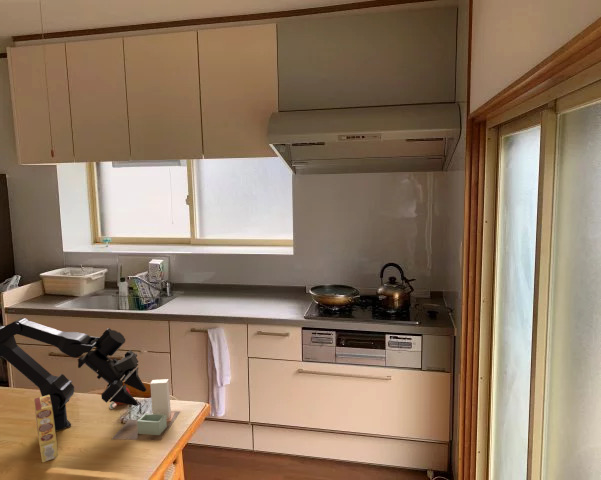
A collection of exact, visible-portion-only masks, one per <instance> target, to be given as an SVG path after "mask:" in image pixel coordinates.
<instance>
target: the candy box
mask: <svg viewBox="0 0 601 480" xmlns="http://www.w3.org/2000/svg"><path fill="white" fill-rule="evenodd" d="M33 400H34V410H35V423H36V429H37V437H38V443H39V445H38V446H39V452H40V456H41V457H40V458H41V462H42V463H45V462H48V461H51V460H55V459H56V458H58V457H59V454H58V442H57V435H56V432H55V424H54V416H53V408H52V403H51V398H50V395H47V396H43V397H42V396H38V397H35V398H34V399H33Z"/></svg>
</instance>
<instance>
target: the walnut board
mask: <svg viewBox="0 0 601 480" xmlns="http://www.w3.org/2000/svg"><path fill="white" fill-rule="evenodd" d="M180 413H181V411H177V410H176V411H174V410H173V411H172V410H171V416H170V418H169V419H166V422H167V427H166V429H165V430H164V431H163V432H162V433H161V434H160V435H150V434H138V428H137V421H138V420H139V419H138V420H131V419H130V418H129V419H127V421H126V422H125V423H124V424H123V425H122V426H121V427H120V429H119V430H118V431H117V432H116V434H114V435H113V436H112V438H111V440H125V441H126V440H128V441H129V440H132V441H138V440H139V441H161V440H162V439H163V438H164V436H165V434H166V433H167V432H168V430H169V429H170V428H171V426H172V425H173V423H174V422H175V420H176V419H177V418H178V416H179V415H180Z"/></svg>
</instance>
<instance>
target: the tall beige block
mask: <svg viewBox="0 0 601 480" xmlns="http://www.w3.org/2000/svg"><path fill="white" fill-rule="evenodd" d="M149 386H150V399H151V400H150V401H151V411H152V413H153V414H164V415H166V419H169V418H170V416H171V411H172V410H171V397H170V395H171V394H170V382H169V379H168V378H167V379H166V378H164V379H152V380H151V381H150V385H149Z"/></svg>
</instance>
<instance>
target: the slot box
mask: <svg viewBox="0 0 601 480" xmlns="http://www.w3.org/2000/svg"><path fill="white" fill-rule="evenodd" d="M166 427H167V422H166V415H164V414H148V413H145V414H144V415H143V416H142V417H141V418H140V419H139V420H138V421H137V428H138V434H150V435H160V434H161V433H162V432H163V431H164V430H165V429H166Z"/></svg>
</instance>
